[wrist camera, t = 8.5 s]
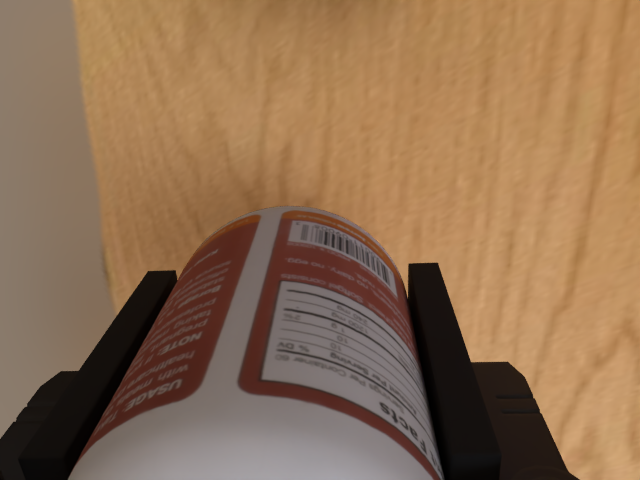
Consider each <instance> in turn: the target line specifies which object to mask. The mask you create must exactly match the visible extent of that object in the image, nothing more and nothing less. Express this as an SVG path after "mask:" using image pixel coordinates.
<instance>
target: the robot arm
mask: <svg viewBox="0 0 640 480" xmlns="http://www.w3.org/2000/svg"><path fill="white" fill-rule="evenodd" d="M176 283H177V275H176V270H172V271H148V272H147V274H146V275H145V276H144V278H143V279H142V281H141V282H140V284H139V285H138V286H137V288H136V289H135V291H134V292H133V294H132V295H131V296H130V298H129V299H128V301H127V302H126V304H125V305H124V307H123V308H122V309H121V311H120V312H119V314H118V315H117V317H116V318H115V319H114V321H113V322H112V324H111V325H110V327H109V328H108V330H107V331H106V332H105V334H104V335H103V337H102V338H101V340H100V341H99V342H98V344H97V345H96V347H95V348H94V350H93V351H92V353H91V354H90V355H89V357H88V358H87V360H86V361H85V363H84V364H83V365H82V367H81V368H80V370H79V371H61V372H60V373H58V374H57V375H55V376H54V377H53V378H51V379H50V380H49V381H47V382H46V383H45V384H43V385H42V386H41V387H40V388H39V389H38V390H37V392H36V393H35V394H34V396H33V397H32V398H31V400H30V401H29V402H28V404H27V407H25V408H24V409H23V410H22V411H21V413H20V414H19V415H18V417H17V420H16V422H13V423H12V425H11V426H10V427H9V428H8V430H7V431H6V432H5V434H4V435H3V436H2V437H1V439H0V480H68V478H69V476H70V474H71V472H72V470H73V468H74V466H75V464H76V462H77V461H78V459H79V457H80V455H81V453H82V451H83V449H84V447H85V446H86V444H87V442H88V441H89V439H90V437H91V435H92V433H93V431H94V430H95V428H96V426H97V425H98V423H99V421H100V420H101V418H102V416H103V413H104V412H105V410H106V408H107V407H108V405H109V403H110V402H111V400H112V398H113V396H114V394H115V393H116V391H117V389H118V387H119V386H120V384H121V382H122V380H123V378H124V376H125V374H126V372H127V370H128V369H129V367H130V366H131V363H132V361H133V359H134V358H135V357H136V355H137V353H138V351H139V349H140V347H141V346H142V344H143V342H144V340H145V338H146V337H147V335H148V333H149V331H150V330H151V328H152V326H153V324H154V322H155V321H156V319H157V317H158V315H159V313H160V311H161V309H162V308H163V306H164V304H165V302H166V301H167V299H168V297H169V295H170V293H171V292H172V290H173V288H174V286H175V284H176ZM408 302H409V307H410V312H411V317H412V322H413V327H414V332H415V337H416V342H417V347H418V352H419V357H420V362H421V366H422V370H423V376H424V381H425V386H426V391H427V395H428V401H429V406H430V411H431V416H432V421H433V426H434V431H435V436H436V441H437V446H438V450H439V455H440V460H441V464H442V469H443V473H444V478H445V480H579V479H578V478H576V477H575V476H573V475H572V474H570V473H569V471H568V470H567V468H566V466H565V464H564V462H563V459H562V457H561V455H560V453H559V451H558V448H557V446H556V444H555V442H554V440H553V438H552V435H551V433H550V431H549V429H548V427H547V425H546V422H545V420H544V418H543V416H542V414H541V413H540V409H539V407H538V405H537V403H536V401H535V398H533V394H532V392H531V390H530V388H529V385H528V383H527V381H526V379H525V377H524V376H523V375H522V374H521V373H520V372H519V371H517V370H516V369H515V368H514V367H513V366H512V365H511V364H510V363H509V362H471V361H470V358H469V355H468V352H467V349H466V346H465V343H464V340H463V337H462V334H461V331H460V328H459V325H458V322H457V319H456V316H455V313H454V310H453V307H452V304H451V301H450V298H449V295H448V292H447V289H446V286H445V283H444V280H443V277H442V274H441V271H440V268H439V265H438V263H413V264H409V266H408Z"/></svg>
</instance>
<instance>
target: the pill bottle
mask: <svg viewBox="0 0 640 480" xmlns="http://www.w3.org/2000/svg"><path fill="white" fill-rule="evenodd" d="M68 480H445V478H444V473H443V469H442V464H441V460H440V455H439V450H438V446H437V441H436V436H435V431H434V426H433V421H432V416H431V411H430V406H429V401H428V395H427V391H426V386H425V381H424V376H423V370H422V366H421V362H420V357H419V352H418V347H417V342H416V337H415V332H414V327H413V322H412V317H411V312H410V307H409V302H408V298H407V294H406V290H405V287H404V284H403V281H402V278H401V276H400V273H399V271H398V269H397V267H396V265H395V264H394V262H393V260H392V259H391V257H390V256H389V255H388V253H387V252H386V251H385V250H384V248H383V247H382V246H381V245H380V244H379V243H378V242H377V241H376V240H375V239H374V238H373V237H372V236H371V235H370V234H369V233H367V232H366V231H365V230H363V229H362V228H361V227H359V226H357V225H356V224H354V223H352V222H350V221H349V220H347V219H345V218H343V217H340V216H338V215H336V214H333V213H330V212H327V211H324V210H320V209H316V208H311V207H301V206H280V207H271V208H265V209H261V210H257V211H254V212H250V213H248V214H245V215H243V216H240V217H238V218H236V219H234V220H232V221H231V222H229V223H227V224H226V225H224V226H223V227H221V228H220V229H218V230H217V231H215V232H214V233H213V234H212V235H211V236H209V237H208V238H207V239H206V240H205V241H204V242H203V243H202V244H201V246H200V247H199V248H198V249H197V250H196V252H195V253H194V254H193V256H192V257H191V258H190V260H189V262H188V263H187V265H186V266H185V268H184V270H183V272H182V273H181V275H180V277H179V279H178V281H177V283H176V284H175V286H174V288H173V290H172V292H171V293H170V295H169V297H168V299H167V301H166V302H165V304H164V306H163V308H162V309H161V311H160V313H159V315H158V317H157V319H156V321H155V322H154V324H153V326H152V328H151V330H150V331H149V333H148V335H147V337H146V338H145V340H144V342H143V344H142V346H141V347H140V349H139V351H138V353H137V355H136V357H135V358H134V359H133V361H132V363H131V366H130V367H129V369H128V370H127V372H126V374H125V376H124V378H123V380H122V382H121V384H120V386H119V387H118V389H117V391H116V393H115V394H114V396H113V398H112V400H111V402H110V403H109V405H108V407H107V408H106V410H105V412H104V413H103V416H102V418H101V420H100V421H99V423H98V425H97V426H96V428H95V430H94V431H93V433H92V435H91V437H90V439H89V441H88V442H87V444H86V446H85V447H84V449H83V451H82V453H81V455H80V457H79V459H78V461H77V462H76V464H75V466H74V468H73V470H72V472H71V474H70V476H69V478H68Z"/></svg>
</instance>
